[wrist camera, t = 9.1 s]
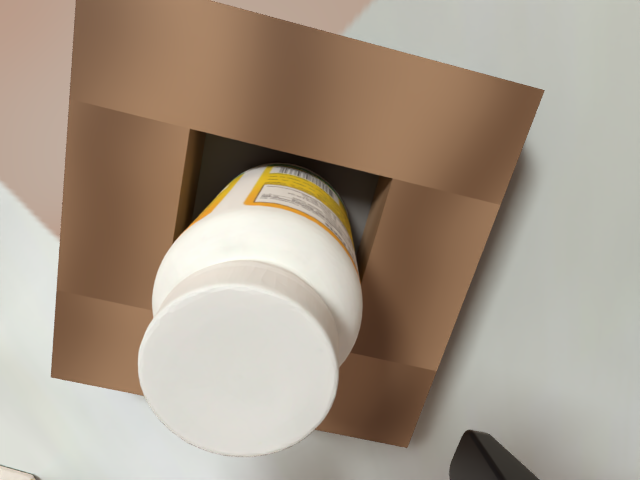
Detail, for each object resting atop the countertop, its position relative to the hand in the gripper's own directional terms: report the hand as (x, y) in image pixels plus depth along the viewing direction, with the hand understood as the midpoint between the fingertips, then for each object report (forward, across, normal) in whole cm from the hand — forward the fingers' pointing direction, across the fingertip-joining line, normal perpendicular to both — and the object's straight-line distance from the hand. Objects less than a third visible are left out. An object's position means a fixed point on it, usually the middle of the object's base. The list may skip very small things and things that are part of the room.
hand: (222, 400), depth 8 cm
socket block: (+11, 0, 0) cm, 11 cm away
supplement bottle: (+11, 0, 0) cm, 11 cm away
